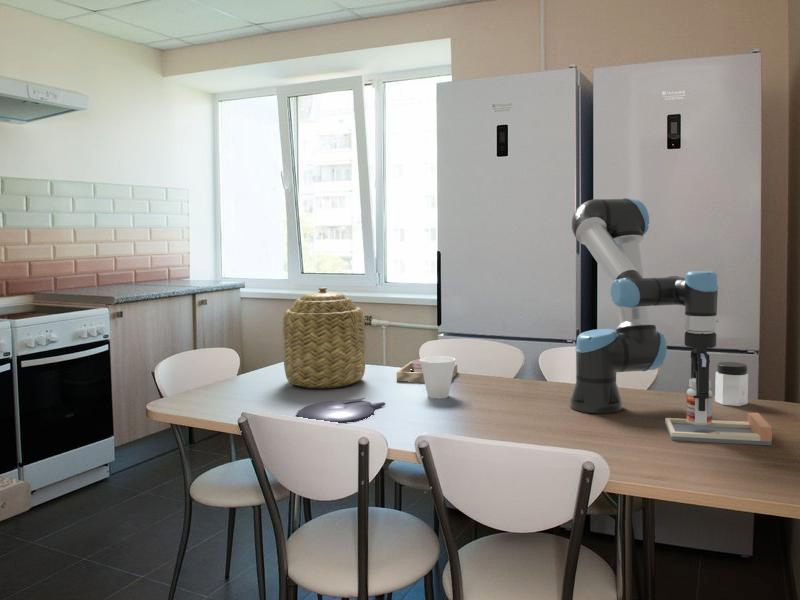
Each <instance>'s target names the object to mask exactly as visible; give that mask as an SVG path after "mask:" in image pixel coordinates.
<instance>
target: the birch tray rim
mask: <svg viewBox="0 0 800 600" xmlns="http://www.w3.org/2000/svg"><path fill="white" fill-rule="evenodd" d="M410 362H411V361H410ZM410 362H408V363H406V364H405V365H404V366H403V367H401V368H400V369H399V370H397V371H396V382H397V381H408V382H407V383H422V384H423V383H424V384H425V381H424V376H423V372H411V371H414V368H413V365H411V363H410ZM410 369H412V370H410ZM457 374H458V363H455V365H454V370H453V375H452V379H453V378H454V377H455V376H456V375H457Z"/></svg>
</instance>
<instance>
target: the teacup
mask: <svg viewBox="0 0 800 600" xmlns="http://www.w3.org/2000/svg"><path fill="white" fill-rule="evenodd" d="M420 359H421V358H420ZM420 359H419V358H418V359H413V360H411V361H410V363H411V365H413V368H414V372H422V367H421V363H420Z"/></svg>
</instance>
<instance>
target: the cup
mask: <svg viewBox="0 0 800 600" xmlns="http://www.w3.org/2000/svg"><path fill="white" fill-rule="evenodd" d="M420 363H421V367H422V372H423V376H424V381H425V383H424V384H425V389H426V394H427V398H429V397H430V399H434V398H437V400H439V399H441V398H442V399H446V398H449V396H450V389H451V386H452V380H453V378H452V375H453V370H454V365H455V364H456V358H455V357H452V356H445V355H435V356H434V355H433V356H432V355H431V356H426V357H421V358H420Z"/></svg>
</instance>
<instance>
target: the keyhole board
mask: <svg viewBox="0 0 800 600" xmlns="http://www.w3.org/2000/svg"><path fill="white" fill-rule="evenodd" d="M664 425H665V428H666V430H667V433H668V435H669V438H670V439H671V441H684V442H701V443H718V444H734V445H736V444H737V445H738V444H739V445H754V446H755V445H756V446H757V445H759V446H772V441H773V427H772V426H771V424H769V423H768V422H767V421H766V420H765V419H764V417H763V416H762V415H761V414H760V413H759V412H747V421H743V420H742V421H741V420H738V421H737V420H720V419H719V420H718V419H717V420H716V419H712V423H711V424H709V425H694V424H690V423H688V422H687V421H686V418H675V417H674V418H672V417H665V418H664Z"/></svg>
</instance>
